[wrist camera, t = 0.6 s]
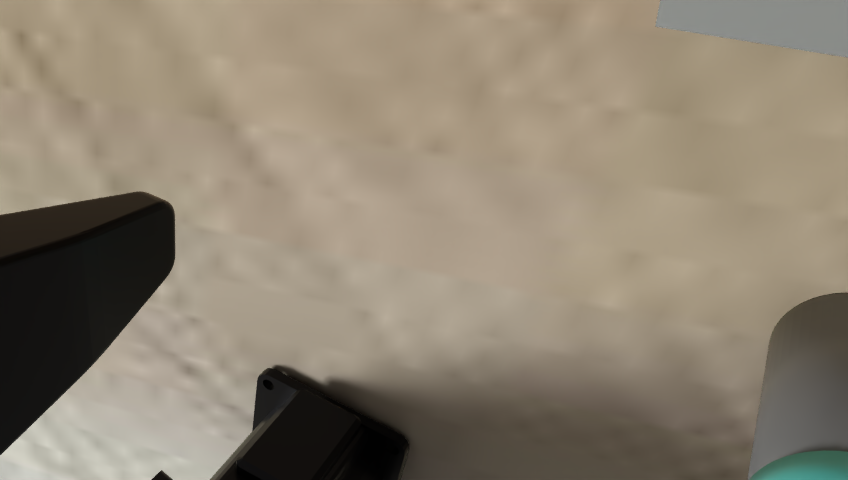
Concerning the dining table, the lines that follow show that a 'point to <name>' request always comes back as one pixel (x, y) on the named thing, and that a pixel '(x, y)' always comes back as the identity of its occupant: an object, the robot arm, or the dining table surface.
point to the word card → (764, 22)
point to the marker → (805, 395)
